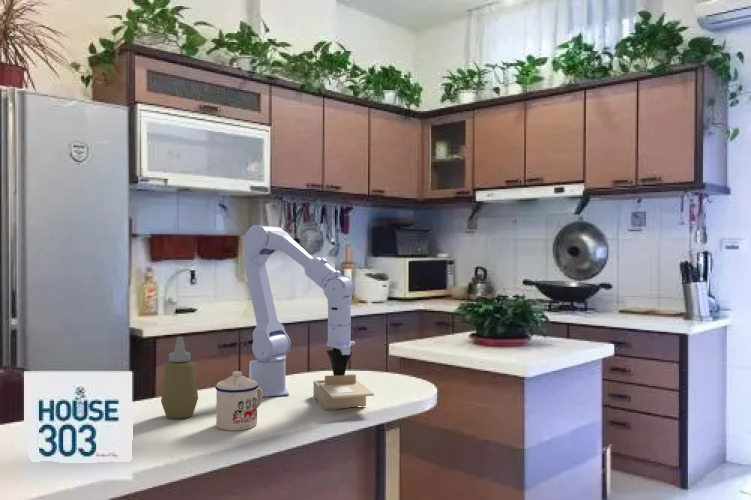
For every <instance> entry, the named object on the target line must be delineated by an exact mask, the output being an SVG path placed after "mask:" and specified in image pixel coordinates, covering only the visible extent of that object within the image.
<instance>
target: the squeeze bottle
mask: <svg viewBox="0 0 751 500" xmlns="http://www.w3.org/2000/svg"><path fill="white" fill-rule="evenodd" d="M185 345H186V344H185V341H184V337H183V336H177V338H176V342H175V346H174V351H173V352H170V353H169V354H168V361H169V362H167V363H166V364H165V365H164V370H163V371H164V372H163V378H162V381H163V382H162V391H161V398H160V399H161V400H160V402H161V405H162V408H163V412H164V415H165V417H166V418H168V419H176V420H177V419H178V420H179V419H181V420H182V419H187V418H190V417H192V416H194V413H195V411H196V406H197V405H198V400H199V395H198V384H197V374H196V373H197V372H196V364H195V363H194V362H193V361H190V360H191V354H192V353H191V352H190V351H186V346H185Z"/></svg>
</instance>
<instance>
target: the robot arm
mask: <svg viewBox="0 0 751 500" xmlns="http://www.w3.org/2000/svg"><path fill="white" fill-rule="evenodd" d="M243 242H244V251H243V258H242V262H243V266H244V271H245V275H246V276H245V277H246V281H247V285H248V289H249V294H250V299H251V303H252V308H253V313H254V317H255V323H256V326H255V328H254V330H253V332H252V339H253V340H252V341H253V342H252V346H251V349H252V353H253V355H254V356H255V358H256V360H255V359H254V360H249V367H248V368H249V369H248V370H249V371H248V378H249V379H251V380H255V381H256V382H257V383H258V387H259V388H260V389H261V390H262V392H263V397H278V396H280V397H281V396H289V395H290V393H289V391H288V390H287V389H286V358H287V354H288V352H290V349H291V344H292V343H291V338H290V336H289V335H288V334H287V332H286V329H285V326H284V325H283V324H282V323H281V322H280V321H279V320H278V316H277V312H276V308H275V307H276V306H275V301H274V298H273V294H272V288H271V284H270V279H269V276H268V271H267V266H266V265H267V263H266V262H267V261H268V260H269V258H270V257H271V256H272V255H273V254H275V252H276V251H281V252H283V253H284V254H285V255H287V256H288V257H289V258H291V259H292V260H294V261H295V262H296V263H297V264H299V265H300V266H301V267H302V268H303V269H304V274H305V276H306V277H307V278H309V279H310V280H311V281H312V282H314V284H316V285H317V286H318V287H320V289H322V290H323V293H324V296H325V297H326V299H327V342H326V346H327V347H329V348H332V349H327V350H326V353H327V355H328V358H329V360H330V364H331V368H332V370H331V371H332V374H333V375H346V371H347V366H348V363H349V360H350V358H351V356H352V355H353V354H352V351H351V347H352V346H356V341H354V340H351V338H352V337H351V334H352V331H351V330H352V329H351V326H352V322H351V321H352V301H351V300H352V296H353V295H354V293H355V290H356V289H355V288H356V287H355V282H354V281H353V279H351V277H350V276H348V275H341V273H342V272H341V271H340V270H336V269H335V268H334V267H332V266H331V265H330V264H329V263H328V260H327V259H326V258H325V257H319V256H318V257H317V256H316V257H313V256H312V255H311V254H310V253H308V252H307V250H306V249H304V248H303V247H302V246H301V245H300V244H299V242H297V241H296V240H294V238H292V237H291V236H290V234H289V233H288V232H287V231H285V230H283V229H282V228H281V227H280V226H278V225H259V224H254V225H252V226H250V227H249V228H248V230H247V231H246V233H245V234H244V236H243ZM257 398H258V392H257Z"/></svg>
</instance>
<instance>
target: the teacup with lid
mask: <svg viewBox="0 0 751 500" xmlns="http://www.w3.org/2000/svg"><path fill="white" fill-rule="evenodd" d="M231 374H232V375H231V376H228V377H227V378H225V379H224V380H221V381H218V382H217V383H216V385H215V386H214V387H215V390H216V403H215V404H216V413H215V414H216V417H215V418H216V422H215V423H216V424H215V425H216V427H217V428H218V429H220V430H223V431H228V432H229V431H230V432H232V431H234V432H235V431H245V430H249V429H252V428H254V427H256V425H257V424H258V408H259V407H260V406H261V404H262V402H263V392H262V390H261V389H260V388H259V387H258V383H257V382H256V381H255V380H251V379H249V377H247V376H244V375H243V372H242V371H240V370H236V371H233V372H232V373H231ZM257 392H258V397H257Z"/></svg>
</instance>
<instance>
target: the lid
mask: <svg viewBox="0 0 751 500" xmlns="http://www.w3.org/2000/svg"><path fill="white" fill-rule="evenodd" d="M324 380H325V383H319V386H320V387H321V388H322V389H323V390H324V391H325V392H326V393H327V394H328V395H329V396H330V397H331V398H347V397H362V396H366V397H374V395H375V393H374V392H372V390H370V389H369V388H368V387H366V386H365V385H364V384H362V383H361V382H360V381H359V380H357V375H356V374H353V373H351V374H345V375H324Z"/></svg>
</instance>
